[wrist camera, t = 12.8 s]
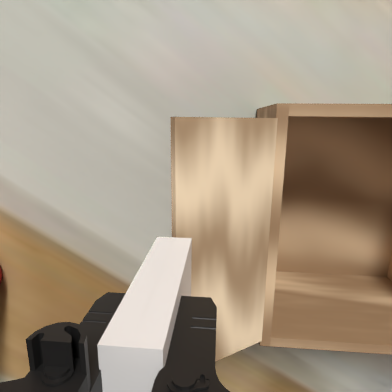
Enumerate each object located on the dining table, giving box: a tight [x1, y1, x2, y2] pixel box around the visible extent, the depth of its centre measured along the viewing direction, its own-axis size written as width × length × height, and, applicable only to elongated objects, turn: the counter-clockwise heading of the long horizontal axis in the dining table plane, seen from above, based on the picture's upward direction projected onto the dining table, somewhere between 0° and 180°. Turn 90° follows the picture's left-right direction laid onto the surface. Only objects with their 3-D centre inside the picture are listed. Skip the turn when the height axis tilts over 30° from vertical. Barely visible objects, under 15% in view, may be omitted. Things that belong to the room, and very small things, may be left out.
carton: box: [257, 104, 392, 354], centre depth 21 cm, size 14×12×9 cm
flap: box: [171, 117, 278, 362], centre depth 15 cm, size 13×1×6 cm
